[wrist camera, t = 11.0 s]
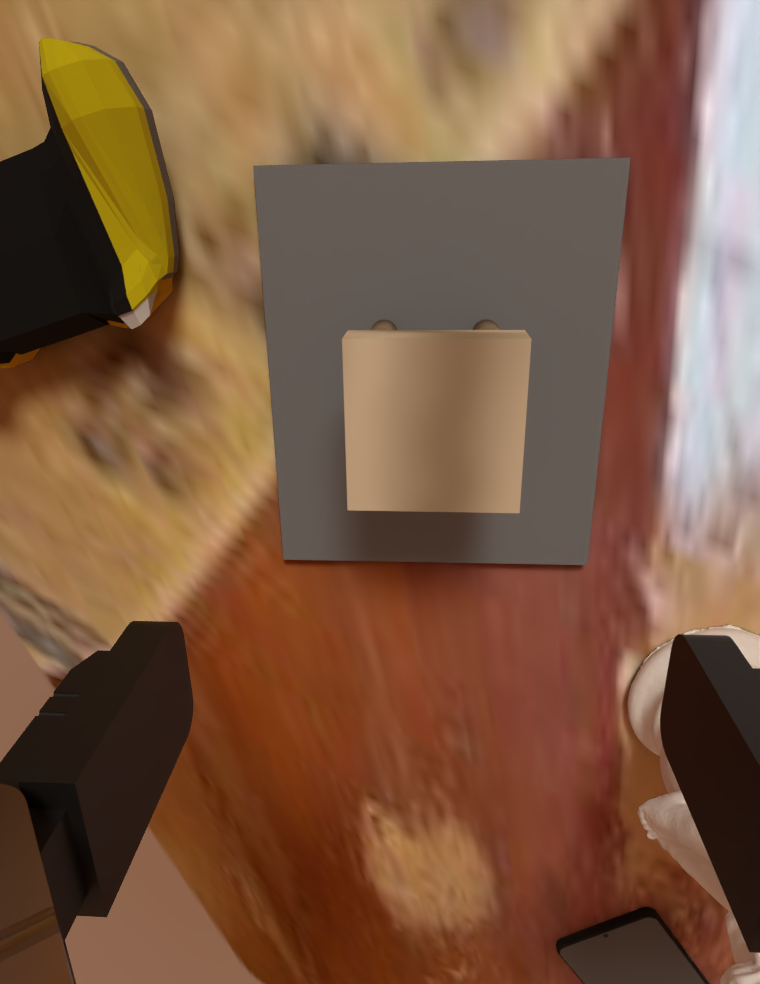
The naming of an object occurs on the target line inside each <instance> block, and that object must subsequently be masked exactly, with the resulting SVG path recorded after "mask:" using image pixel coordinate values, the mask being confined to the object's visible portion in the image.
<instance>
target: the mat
mask: <svg viewBox="0 0 760 984" xmlns="http://www.w3.org/2000/svg"><path fill="white" fill-rule="evenodd" d="M630 159H631V158H593V159H547V160H500V161H454V162H408V163H361V164H315V165H269V166H254V179H255V193H256V206H257V219H258V232H259V245H260V258H261V271H262V284H263V297H264V311H265V324H266V337H267V350H268V363H269V376H270V389H271V402H272V415H273V428H274V442H275V455H276V468H277V481H278V494H279V507H280V520H281V533H282V546H283V560H333V561H389V562H444V563H500V564H555V565H587V562H588V553H589V543H590V534H591V525H592V515H593V506H594V496H595V487H596V478H597V468H598V459H599V450H600V440H601V431H602V421H603V412H604V403H605V393H606V384H607V375H608V365H609V356H610V346H611V337H612V328H613V318H614V309H615V300H616V290H617V281H618V271H619V262H620V253H621V243H622V234H623V225H624V215H625V206H626V196H627V187H628V178H629V168H630ZM384 319H385V320H390V321H391V322H393V323H394V324H395V325H396V327H397V329H398V330H473V327H474V326H475V324H476V323H477V322H479V321H481V320H484V319H489V320H492V321H494V322H495V323H496V324H497V325H498V327H499V329H500V330H525V331H526V332H527V333H528V335H529V336H530V338H531V354H530V368H529V383H528V398H527V412H526V427H525V441H524V456H523V470H522V485H521V500H520V513H472V512H413V511H354V510H347V480H346V449H345V417H344V386H343V355H342V338H343V337H344V335H345V334H346V332H347V331H348V330H371V328H372V326H373V325H374V324H375V323H376V322H377V321H379V320H384Z"/></svg>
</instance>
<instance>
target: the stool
mask: <svg viewBox="0 0 760 984" xmlns="http://www.w3.org/2000/svg"><path fill="white" fill-rule="evenodd" d="M530 354H531V338H530V336H529V335H528V333H527V332H526V331H525V330H500V329H499V327H498V325H497V324H496V323H495V322H494V321H492V320H489V319H484V320H481V321H479V322H477V323H476V324H475V326H474V327H473V330H398V329H397V327H396V325H395V324H394V323H393V322H391V321H390V320H385V319H384V320H379V321H377V322H376V323H375V324H374V325H373V326H372V328H371V330H348V331H347V332H346V334H345V335H344V337H343V338H342V355H343V386H344V417H345V449H346V480H347V510H354V511H413V512H472V513H520V500H521V485H522V470H523V456H524V441H525V427H526V412H527V398H528V383H529V368H530Z"/></svg>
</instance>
